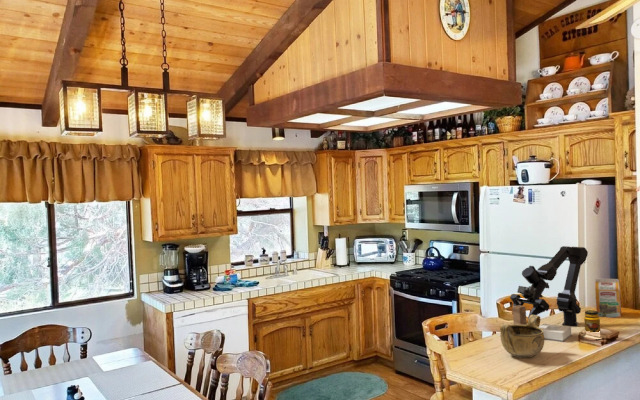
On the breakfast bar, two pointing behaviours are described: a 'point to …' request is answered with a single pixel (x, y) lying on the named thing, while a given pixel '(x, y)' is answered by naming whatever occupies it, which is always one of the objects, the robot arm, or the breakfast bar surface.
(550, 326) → the socket block
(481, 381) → the breakfast bar surface
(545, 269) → the robot arm
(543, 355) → the breakfast bar surface
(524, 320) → the peg
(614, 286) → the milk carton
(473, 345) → the breakfast bar surface
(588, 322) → the condiment
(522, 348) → the ceramic bowl
